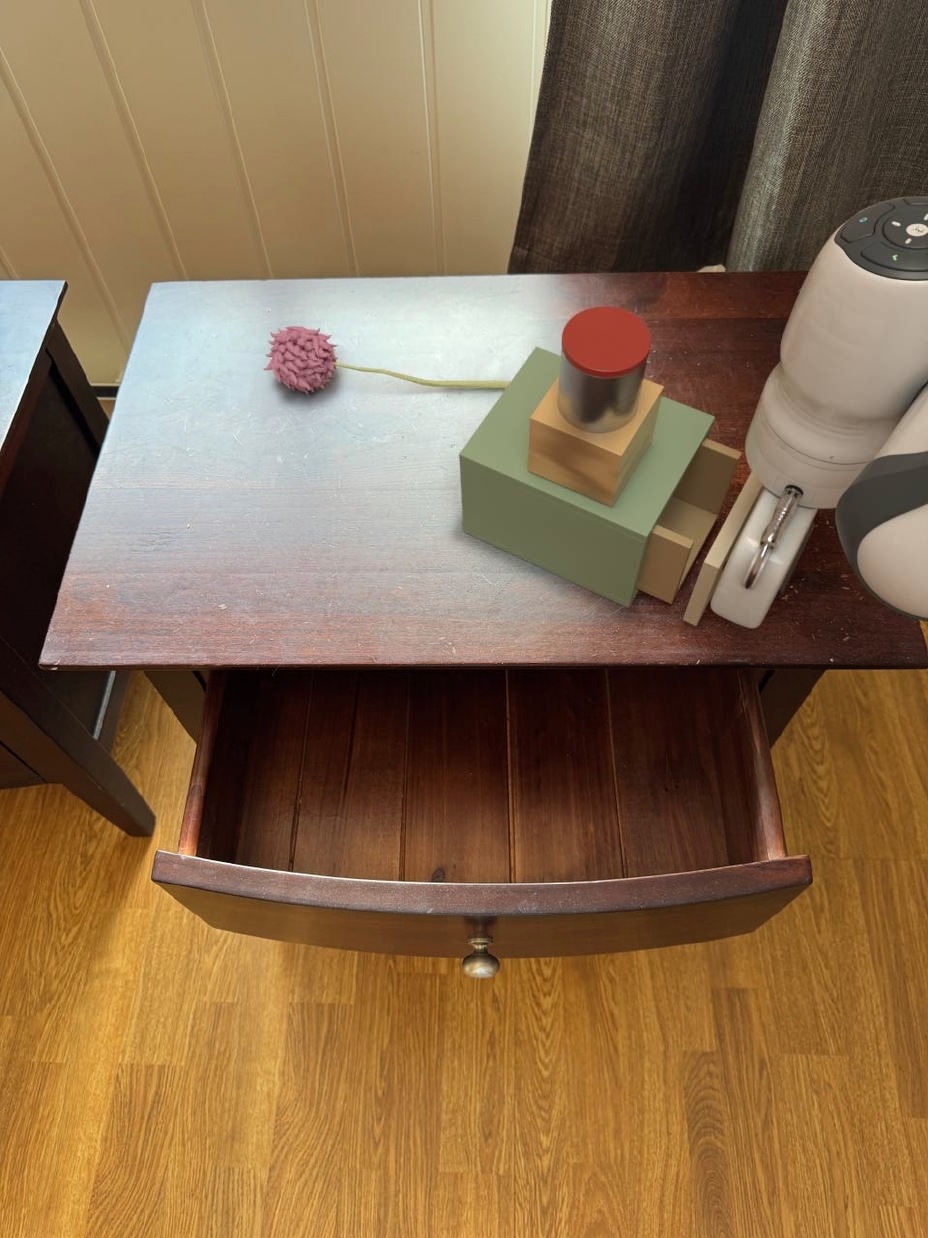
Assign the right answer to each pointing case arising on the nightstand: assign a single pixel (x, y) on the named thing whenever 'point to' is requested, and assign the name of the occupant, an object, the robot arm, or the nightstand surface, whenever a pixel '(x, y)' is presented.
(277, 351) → the artificial flower
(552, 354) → the cabinet
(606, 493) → the riser
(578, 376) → the tin
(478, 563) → the nightstand surface
